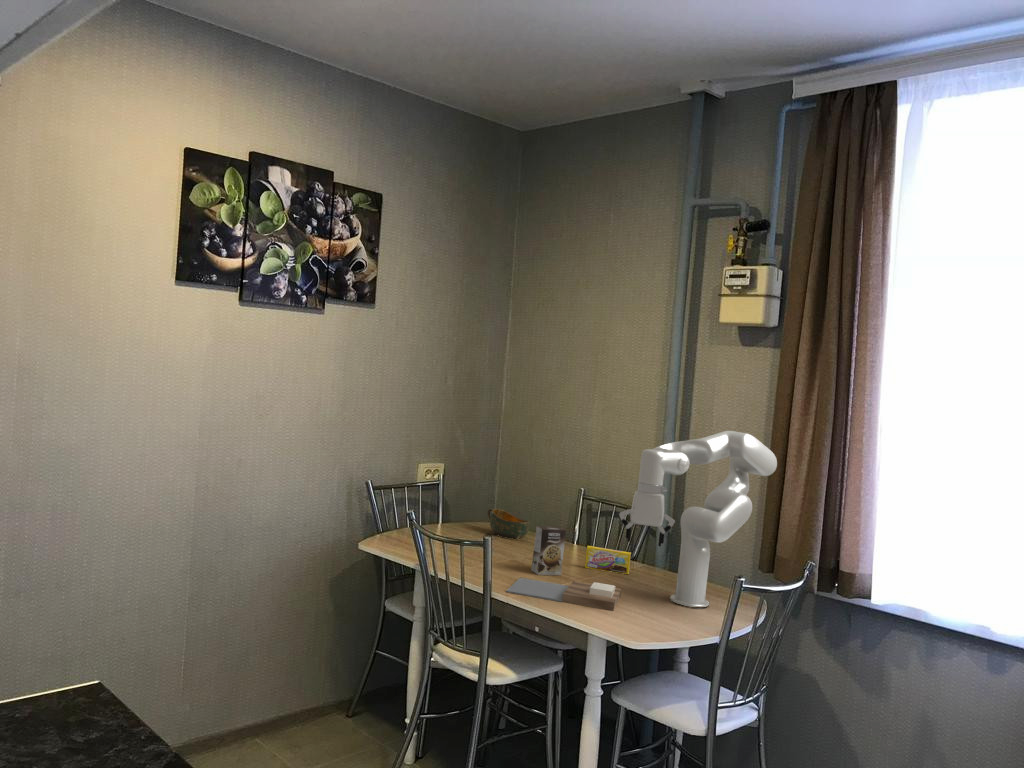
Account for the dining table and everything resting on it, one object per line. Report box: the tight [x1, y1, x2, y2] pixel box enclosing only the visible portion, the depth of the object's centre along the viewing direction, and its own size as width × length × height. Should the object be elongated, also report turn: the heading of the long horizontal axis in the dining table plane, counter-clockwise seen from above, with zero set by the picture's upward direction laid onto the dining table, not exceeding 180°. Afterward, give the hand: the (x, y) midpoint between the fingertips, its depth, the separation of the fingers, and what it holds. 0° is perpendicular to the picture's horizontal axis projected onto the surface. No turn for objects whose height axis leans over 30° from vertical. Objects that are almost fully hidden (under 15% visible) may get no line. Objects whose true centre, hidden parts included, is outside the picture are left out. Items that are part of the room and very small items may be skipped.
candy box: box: [584, 545, 632, 575], centre depth 307 cm, size 16×2×8 cm, turn 76°
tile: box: [589, 581, 616, 598], centre depth 265 cm, size 8×7×2 cm
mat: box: [505, 577, 570, 603], centre depth 270 cm, size 19×18×1 cm
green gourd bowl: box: [487, 508, 531, 540], centre depth 351 cm, size 13×20×10 cm, turn 24°
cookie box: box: [530, 525, 567, 576], centre depth 294 cm, size 9×6×16 cm
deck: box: [561, 580, 622, 611], centre depth 266 cm, size 18×16×2 cm
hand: (644, 543), depth 261 cm, fingers open, 9 cm apart
